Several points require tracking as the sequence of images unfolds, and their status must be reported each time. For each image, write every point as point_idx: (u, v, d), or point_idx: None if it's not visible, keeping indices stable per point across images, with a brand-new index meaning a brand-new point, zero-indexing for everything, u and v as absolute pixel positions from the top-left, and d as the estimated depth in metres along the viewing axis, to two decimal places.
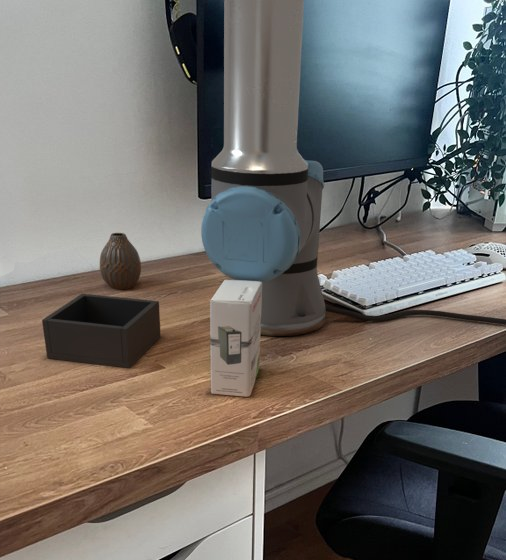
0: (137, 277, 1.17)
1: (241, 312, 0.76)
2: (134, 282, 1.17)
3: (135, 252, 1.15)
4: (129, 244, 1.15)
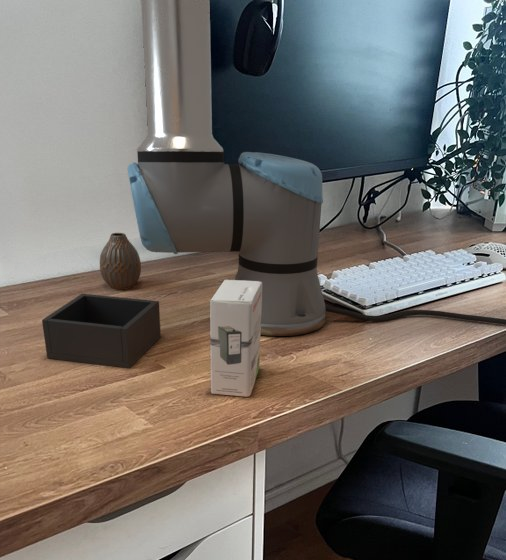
0: (137, 277, 1.17)
1: (241, 312, 0.76)
2: (134, 282, 1.17)
3: (135, 252, 1.15)
4: (129, 244, 1.15)
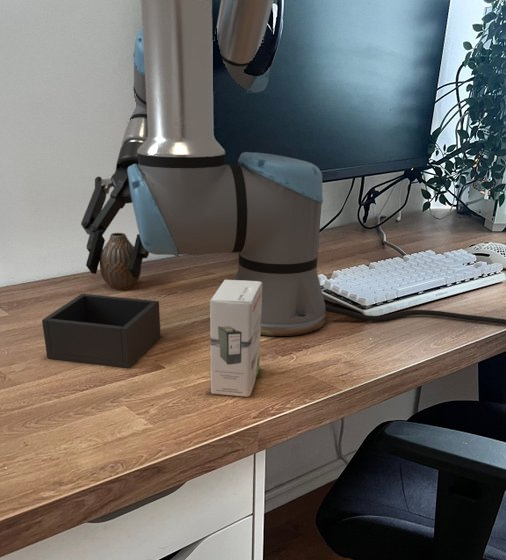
0: None
1: (241, 312, 0.76)
2: (134, 282, 1.17)
3: None
4: (129, 244, 1.15)
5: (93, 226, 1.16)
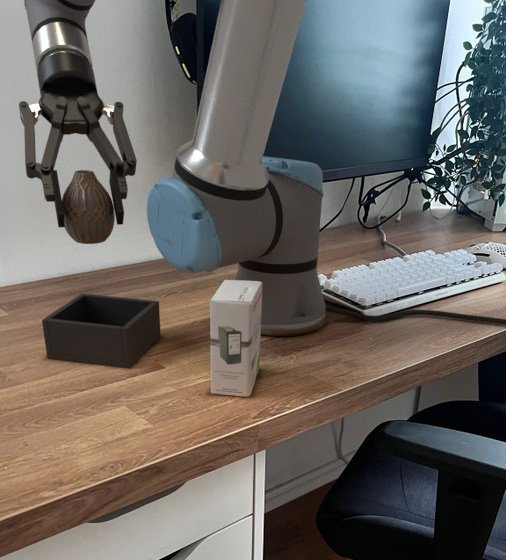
0: (113, 225, 0.92)
1: (241, 312, 0.76)
2: (111, 232, 0.92)
3: None
4: (100, 183, 0.90)
5: (45, 165, 0.87)
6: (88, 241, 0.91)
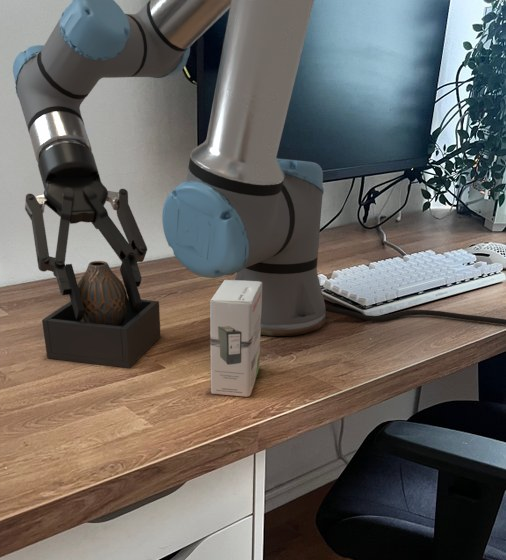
0: None
1: (241, 312, 0.76)
2: None
3: None
4: None
5: (59, 259, 0.87)
6: None
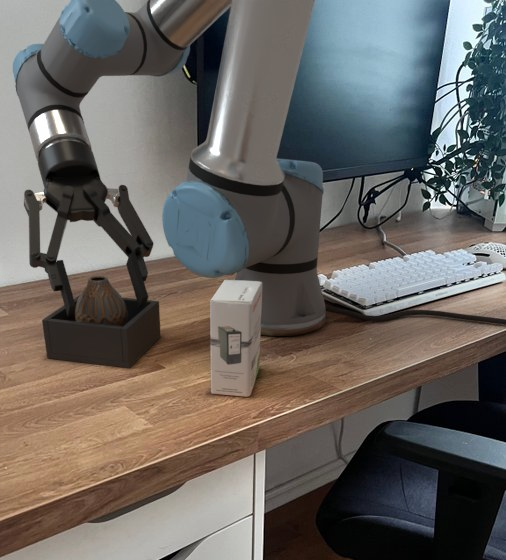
0: None
1: (241, 312, 0.76)
2: None
3: None
4: (113, 288, 0.91)
5: (51, 255, 0.86)
6: None
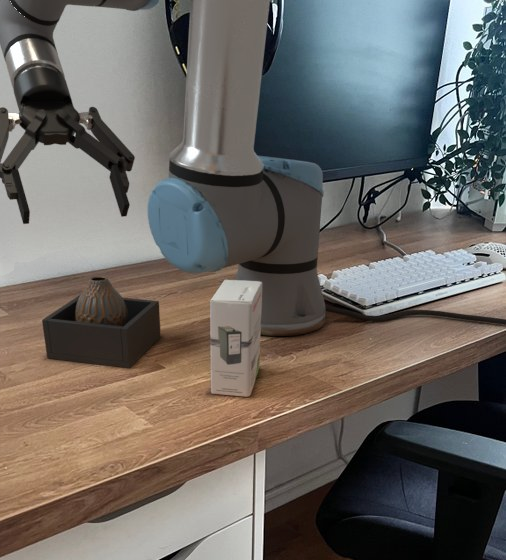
0: None
1: (241, 312, 0.76)
2: None
3: (121, 296, 0.92)
4: (114, 288, 0.91)
5: (6, 164, 0.91)
6: None
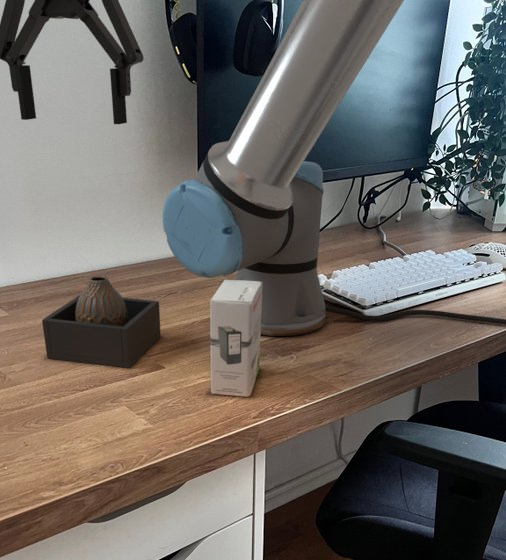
0: None
1: (241, 312, 0.76)
2: None
3: (121, 296, 0.92)
4: (114, 288, 0.91)
5: (10, 58, 0.91)
6: None
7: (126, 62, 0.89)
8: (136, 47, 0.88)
